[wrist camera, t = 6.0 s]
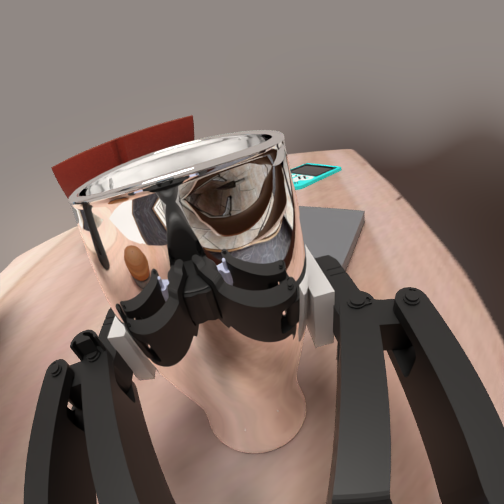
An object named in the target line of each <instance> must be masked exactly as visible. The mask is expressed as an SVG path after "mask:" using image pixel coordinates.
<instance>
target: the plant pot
mask: <svg viewBox="0 0 504 504" xmlns="http://www.w3.org/2000/svg"><path fill="white" fill-rule="evenodd" d="M193 140H194V123H193V116H192V115H191V116H187V117H183V118H179V119H175V120H172V121H168V122H164V123H162V124H158V125H154V126H151V127H148V128H145V129H142V130H139V131H136V132H133V133H130V134H127V135H124V136H122V137H119V138H116V139H114V140H111V141H108V142H106V143H104V144H101V145H98V146H96V147H93V148H91V149H89V150H86V151H84V152H82V153H79V154H78V155H75V156H73V157H71V158H69V159H67V160H65V161H63V162H61V163H59V164H57V165H56V166H53V167H52V170H53V173H54V175H55V177H56V178H57V181H58V183H59V184H60V186H61V188H62V190H63V191H64V193H65V195H66V196H67V198H68V199H69V196H70V195H71V194H72V193H73V192H74V191H75V190H76V189H77V188H79V187H80V186H82V185H83V184H85V183H86V182H88V181H89V180H91V179H93V178H95V177H96V176H98V175H100V174H102V173H104V172H106V171H108V170H110V169H112V168H115V167H117V166H119V165H121V164H124V163H126V162H128V161H131V160H133V159H136V158H138V157H141V156H144V155H147V154H149V153H152V152H155V151H158V150H161V149H165V148H168V147H171V146H175V145H178V144H182V143H186V142H189V141H193Z"/></svg>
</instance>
